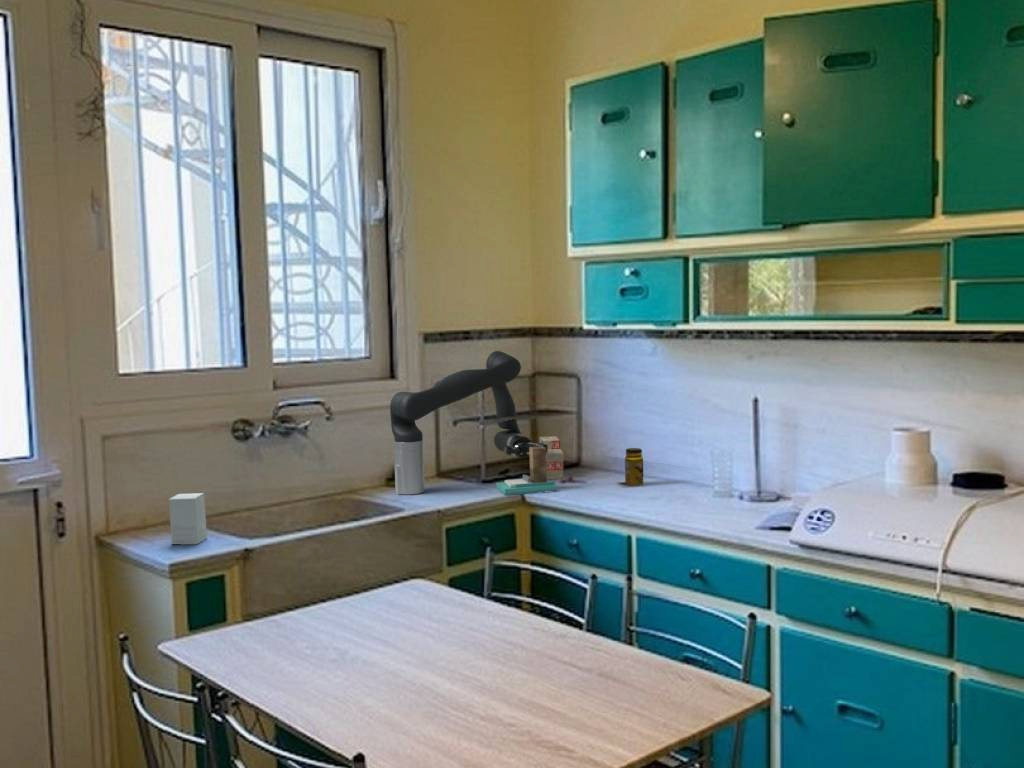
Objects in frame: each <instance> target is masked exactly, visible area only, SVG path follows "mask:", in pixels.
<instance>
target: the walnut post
mask: <svg viewBox="0 0 1024 768" xmlns="http://www.w3.org/2000/svg"><path fill="white" fill-rule="evenodd" d="M529 454H530V455H529V477H531V478H532V483H542V482H547V480H548V479H547V467H546V448H545V447H543V446H539V447H529Z"/></svg>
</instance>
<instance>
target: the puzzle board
mask: <svg viewBox="0 0 1024 768" xmlns="http://www.w3.org/2000/svg"><path fill="white" fill-rule="evenodd" d="M516 479H517V478H512V479H511V478H510V479H508V480H516ZM521 479H523V477H522V478H521ZM495 487H496V488H497V489H498V490H497V489H496V490H497V491H499V490H500V491H501V492H502V493H501V492H500V491H499V492H500V493H501V494H502V495H503V496H516V495H527V494H539V493H538V492H543V493H546V492H545V491H556V492H557V490H556V489H557V485H556V482H555V481H549V479H547V482H542V483H528V484H516V487H510V486H509V485H507V484H506V483H505V481H503V482H496V483H495Z"/></svg>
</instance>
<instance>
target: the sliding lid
mask: <svg viewBox="0 0 1024 768" xmlns="http://www.w3.org/2000/svg"><path fill="white" fill-rule="evenodd" d="M522 478H523V479H522ZM522 478H515V479H516V480H509V479H505V480H504V482H505V483H506V484H507V485H509V486H510V487H516V484H528V483H532V478H531V477H530V475H527V474H522Z"/></svg>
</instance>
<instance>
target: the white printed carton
mask: <svg viewBox="0 0 1024 768" xmlns="http://www.w3.org/2000/svg"><path fill="white" fill-rule="evenodd" d="M539 443H544V444H546V445H547V447H548V452H547V453H546V467H547V480H549V479H550V480H555V479H557V480H559V479H564V457H565V456H564V452H563V450H562V449H561V440H560V439H559V438H558V437H557V435H556V436H555V435H549V436H539Z"/></svg>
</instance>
